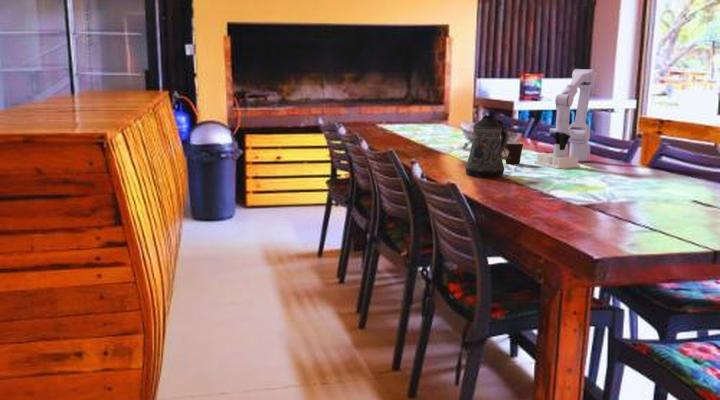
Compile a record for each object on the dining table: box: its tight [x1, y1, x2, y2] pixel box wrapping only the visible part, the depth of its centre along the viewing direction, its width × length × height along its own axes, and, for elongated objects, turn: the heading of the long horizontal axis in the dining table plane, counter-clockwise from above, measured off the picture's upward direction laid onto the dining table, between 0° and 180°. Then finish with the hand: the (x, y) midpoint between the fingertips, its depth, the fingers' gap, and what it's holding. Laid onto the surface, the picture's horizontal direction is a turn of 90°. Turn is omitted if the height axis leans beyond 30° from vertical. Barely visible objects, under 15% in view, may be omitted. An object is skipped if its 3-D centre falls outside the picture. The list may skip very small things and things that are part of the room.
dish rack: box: [534, 152, 581, 170], centre depth 315 cm, size 13×16×4 cm
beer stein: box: [464, 115, 509, 179], centre depth 288 cm, size 16×19×25 cm
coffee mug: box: [504, 141, 524, 166], centre depth 319 cm, size 12×9×10 cm
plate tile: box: [552, 143, 569, 157], centre depth 312 cm, size 7×2×7 cm, turn 115°
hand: (560, 149), depth 312 cm, fingers closed on plate tile, 2 cm apart
